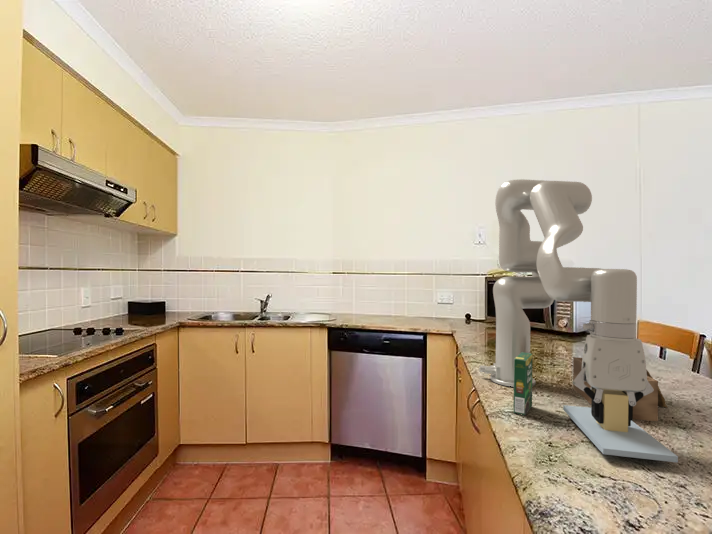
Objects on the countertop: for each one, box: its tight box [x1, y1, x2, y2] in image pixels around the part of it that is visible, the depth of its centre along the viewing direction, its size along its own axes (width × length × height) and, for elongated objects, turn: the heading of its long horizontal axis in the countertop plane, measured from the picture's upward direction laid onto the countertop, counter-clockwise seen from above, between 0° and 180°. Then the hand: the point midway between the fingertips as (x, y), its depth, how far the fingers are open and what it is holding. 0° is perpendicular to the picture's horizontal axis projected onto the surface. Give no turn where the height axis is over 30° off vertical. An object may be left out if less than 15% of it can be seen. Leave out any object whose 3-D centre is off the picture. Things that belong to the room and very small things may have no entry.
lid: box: [562, 390, 679, 463], centre depth 74 cm, size 11×21×8 cm, turn 167°
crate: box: [572, 356, 659, 422], centre depth 94 cm, size 11×21×9 cm, turn 167°
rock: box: [646, 368, 669, 409], centre depth 98 cm, size 11×9×10 cm
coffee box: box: [513, 352, 534, 416], centre depth 88 cm, size 8×3×13 cm, turn 144°
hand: (611, 421), depth 74 cm, fingers closed on lid, 4 cm apart
